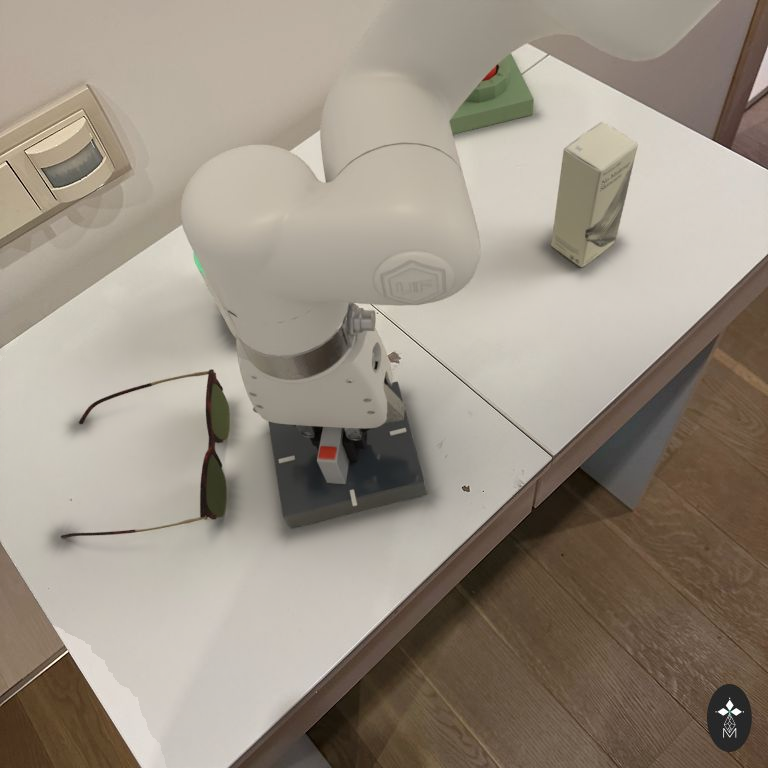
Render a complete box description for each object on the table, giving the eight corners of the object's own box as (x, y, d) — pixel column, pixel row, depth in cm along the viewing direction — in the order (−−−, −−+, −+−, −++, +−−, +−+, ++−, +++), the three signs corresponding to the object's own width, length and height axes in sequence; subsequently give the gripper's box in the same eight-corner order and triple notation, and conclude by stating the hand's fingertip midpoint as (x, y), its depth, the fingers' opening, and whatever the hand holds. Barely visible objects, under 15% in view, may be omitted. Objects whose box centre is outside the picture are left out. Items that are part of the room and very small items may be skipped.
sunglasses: (225, 536, 64) (202, 516, 60) (67, 558, 66) (33, 540, 62) (231, 392, 72) (211, 365, 67) (88, 415, 74) (59, 391, 69)
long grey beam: (339, 409, 66) (330, 382, 62) (357, 410, 65) (348, 383, 61) (326, 483, 62) (315, 459, 58) (345, 484, 62) (335, 461, 58)
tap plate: (399, 391, 69) (396, 374, 67) (428, 501, 64) (426, 487, 61) (274, 422, 69) (265, 406, 67) (292, 535, 64) (283, 523, 61)
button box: (507, 61, 91) (507, 32, 88) (532, 114, 86) (534, 85, 82) (427, 81, 91) (425, 52, 87) (448, 135, 86) (446, 106, 82)
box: (581, 270, 74) (598, 174, 63) (549, 246, 76) (560, 148, 65) (618, 241, 75) (641, 142, 64) (585, 218, 77) (602, 118, 66)
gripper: (422, 279, 49) (438, 411, 65) (194, 273, 51) (263, 402, 67) (411, 378, 45) (430, 492, 61) (166, 367, 48) (245, 479, 63)
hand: (342, 444), depth 64 cm, fingers closed on long grey beam
